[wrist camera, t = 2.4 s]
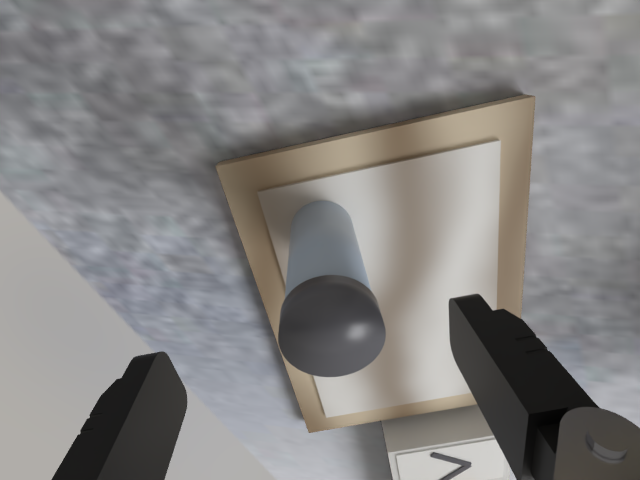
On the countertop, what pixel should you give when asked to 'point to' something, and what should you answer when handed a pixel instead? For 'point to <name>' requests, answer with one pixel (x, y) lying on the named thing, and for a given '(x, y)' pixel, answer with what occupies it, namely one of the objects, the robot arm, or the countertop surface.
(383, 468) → the countertop surface
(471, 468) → the panel
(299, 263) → the marker
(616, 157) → the countertop surface
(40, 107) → the countertop surface
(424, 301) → the drawing board
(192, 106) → the countertop surface
